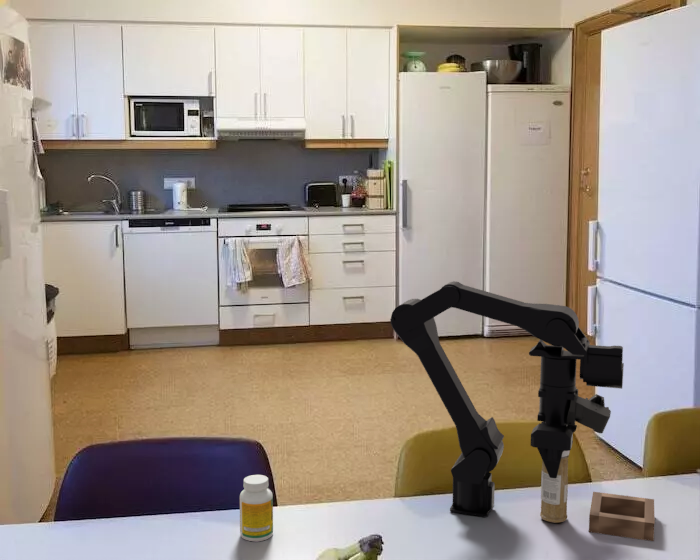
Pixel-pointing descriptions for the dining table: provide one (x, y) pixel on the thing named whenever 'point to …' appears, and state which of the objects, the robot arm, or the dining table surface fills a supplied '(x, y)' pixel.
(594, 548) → the dining table surface
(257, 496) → the supplement bottle
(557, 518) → the sprinkles bottle
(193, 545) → the dining table surface
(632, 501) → the walnut socket
